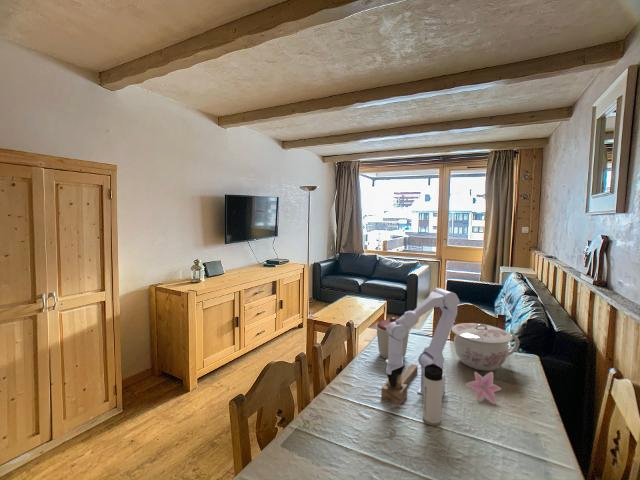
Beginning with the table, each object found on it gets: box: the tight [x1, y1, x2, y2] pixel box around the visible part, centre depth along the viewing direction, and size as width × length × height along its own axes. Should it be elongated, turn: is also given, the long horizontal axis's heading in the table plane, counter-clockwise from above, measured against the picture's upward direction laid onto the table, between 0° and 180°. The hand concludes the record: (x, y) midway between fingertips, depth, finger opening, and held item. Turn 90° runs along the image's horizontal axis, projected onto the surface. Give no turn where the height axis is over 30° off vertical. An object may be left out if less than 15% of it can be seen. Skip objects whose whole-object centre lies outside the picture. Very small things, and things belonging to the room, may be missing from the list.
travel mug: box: [422, 364, 444, 427], centre depth 118 cm, size 6×7×20 cm
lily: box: [465, 371, 502, 405], centre depth 135 cm, size 12×12×10 cm
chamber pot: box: [451, 322, 520, 372], centre depth 163 cm, size 28×27×21 cm
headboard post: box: [381, 363, 418, 405], centre depth 143 cm, size 8×30×4 cm, turn 146°
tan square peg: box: [387, 374, 402, 390], centre depth 134 cm, size 5×2×8 cm, turn 56°
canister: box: [375, 316, 412, 360], centre depth 172 cm, size 18×18×21 cm
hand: (394, 384), depth 134 cm, fingers open, 3 cm apart
